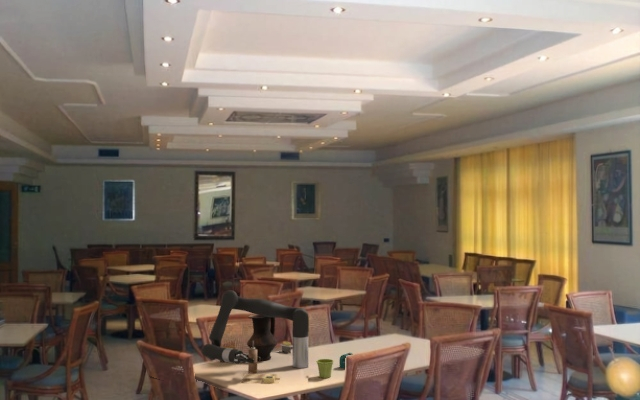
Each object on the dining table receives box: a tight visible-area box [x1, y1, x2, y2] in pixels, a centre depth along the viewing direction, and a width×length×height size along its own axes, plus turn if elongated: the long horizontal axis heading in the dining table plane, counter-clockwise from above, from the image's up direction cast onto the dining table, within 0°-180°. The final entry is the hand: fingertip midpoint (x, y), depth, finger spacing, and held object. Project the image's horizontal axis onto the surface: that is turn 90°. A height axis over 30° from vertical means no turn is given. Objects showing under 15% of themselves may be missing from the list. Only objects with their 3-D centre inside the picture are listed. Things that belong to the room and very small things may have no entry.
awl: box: [247, 341, 258, 374], centre depth 339 cm, size 5×5×17 cm
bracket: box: [338, 352, 354, 369], centre depth 366 cm, size 18×7×8 cm, turn 55°
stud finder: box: [263, 376, 275, 384], centre depth 335 cm, size 5×6×2 cm
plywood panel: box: [239, 373, 282, 384], centre depth 340 cm, size 20×18×1 cm
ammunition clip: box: [219, 339, 236, 363], centre depth 386 cm, size 11×2×12 cm, turn 133°
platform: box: [279, 341, 293, 354], centre depth 410 cm, size 12×18×7 cm, turn 47°
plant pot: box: [316, 358, 335, 379], centre depth 348 cm, size 9×9×9 cm
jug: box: [246, 313, 279, 361], centre depth 392 cm, size 21×18×30 cm
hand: (256, 360), depth 338 cm, fingers closed on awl, 4 cm apart
